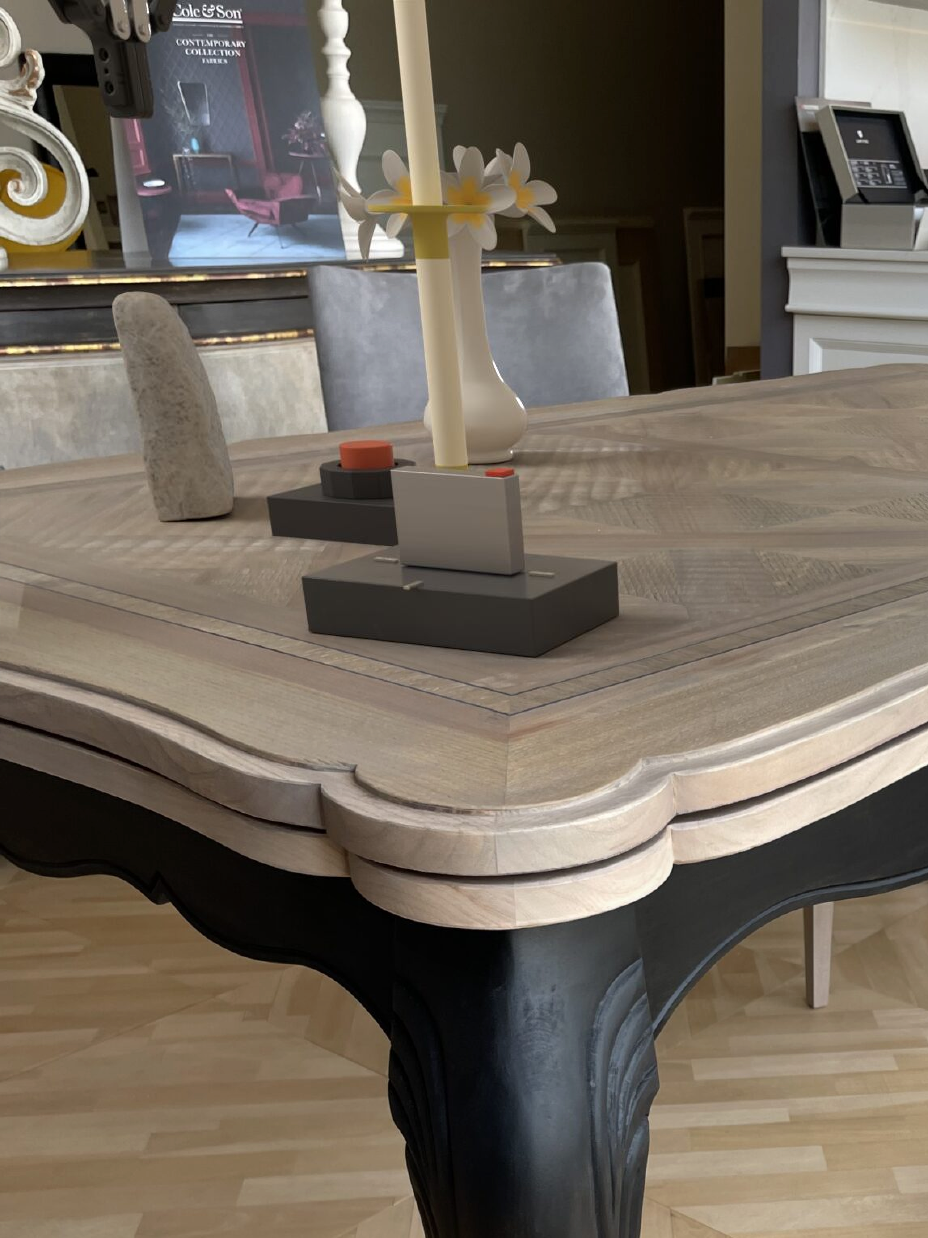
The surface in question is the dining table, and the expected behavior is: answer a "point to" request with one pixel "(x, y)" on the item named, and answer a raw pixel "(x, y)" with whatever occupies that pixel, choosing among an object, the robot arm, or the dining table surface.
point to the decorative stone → (173, 411)
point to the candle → (430, 237)
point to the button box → (340, 507)
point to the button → (366, 454)
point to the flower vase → (468, 276)
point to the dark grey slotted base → (463, 602)
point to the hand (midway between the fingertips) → (130, 118)
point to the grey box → (459, 519)
